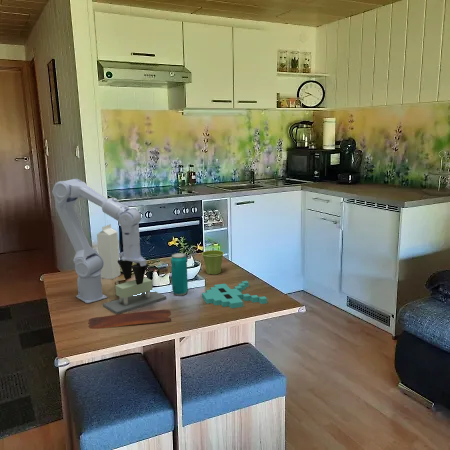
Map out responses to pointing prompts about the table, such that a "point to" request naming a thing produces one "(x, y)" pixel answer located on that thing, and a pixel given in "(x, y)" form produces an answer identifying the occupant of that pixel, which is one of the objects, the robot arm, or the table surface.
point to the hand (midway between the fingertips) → (133, 281)
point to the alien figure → (230, 295)
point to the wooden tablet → (130, 319)
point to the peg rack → (133, 302)
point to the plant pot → (213, 261)
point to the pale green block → (133, 288)
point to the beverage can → (179, 274)
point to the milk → (109, 252)
